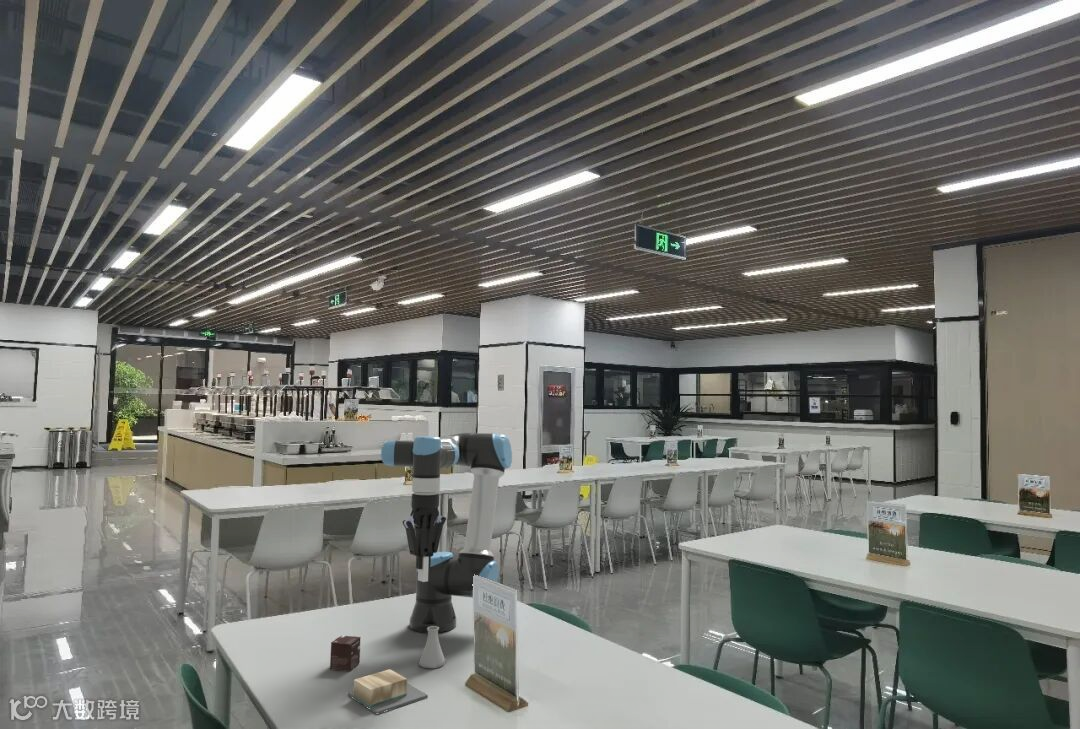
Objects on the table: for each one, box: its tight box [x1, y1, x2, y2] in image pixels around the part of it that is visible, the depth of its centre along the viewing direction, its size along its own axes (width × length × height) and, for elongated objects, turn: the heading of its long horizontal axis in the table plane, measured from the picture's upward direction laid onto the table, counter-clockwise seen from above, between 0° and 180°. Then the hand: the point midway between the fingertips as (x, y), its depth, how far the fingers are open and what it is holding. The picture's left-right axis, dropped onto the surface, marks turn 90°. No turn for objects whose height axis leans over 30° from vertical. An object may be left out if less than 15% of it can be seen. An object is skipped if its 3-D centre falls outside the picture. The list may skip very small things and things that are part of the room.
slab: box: [353, 668, 408, 707], centre depth 162 cm, size 4×8×10 cm
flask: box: [418, 626, 446, 670], centre depth 185 cm, size 7×7×10 cm
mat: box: [347, 682, 429, 714], centre depth 163 cm, size 14×14×1 cm
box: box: [329, 635, 361, 672], centre depth 181 cm, size 6×6×7 cm
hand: (422, 580), depth 180 cm, fingers closed
